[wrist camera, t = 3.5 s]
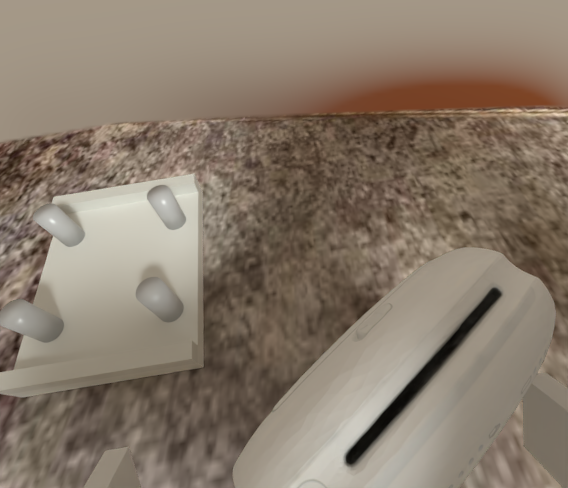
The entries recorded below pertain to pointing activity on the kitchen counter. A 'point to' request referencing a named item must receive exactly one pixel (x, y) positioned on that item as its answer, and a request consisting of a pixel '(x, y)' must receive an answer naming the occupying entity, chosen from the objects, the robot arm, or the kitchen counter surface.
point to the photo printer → (411, 383)
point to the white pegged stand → (113, 289)
